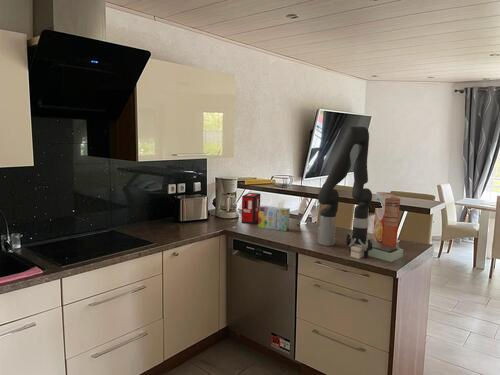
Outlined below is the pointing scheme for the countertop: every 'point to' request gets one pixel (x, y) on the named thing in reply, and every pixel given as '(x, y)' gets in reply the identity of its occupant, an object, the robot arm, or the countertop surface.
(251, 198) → the cleaning product box
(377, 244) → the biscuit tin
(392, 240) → the orange tall flat container
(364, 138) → the robot arm
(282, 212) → the snack box
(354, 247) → the cream carton
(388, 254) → the tote
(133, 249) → the countertop surface
